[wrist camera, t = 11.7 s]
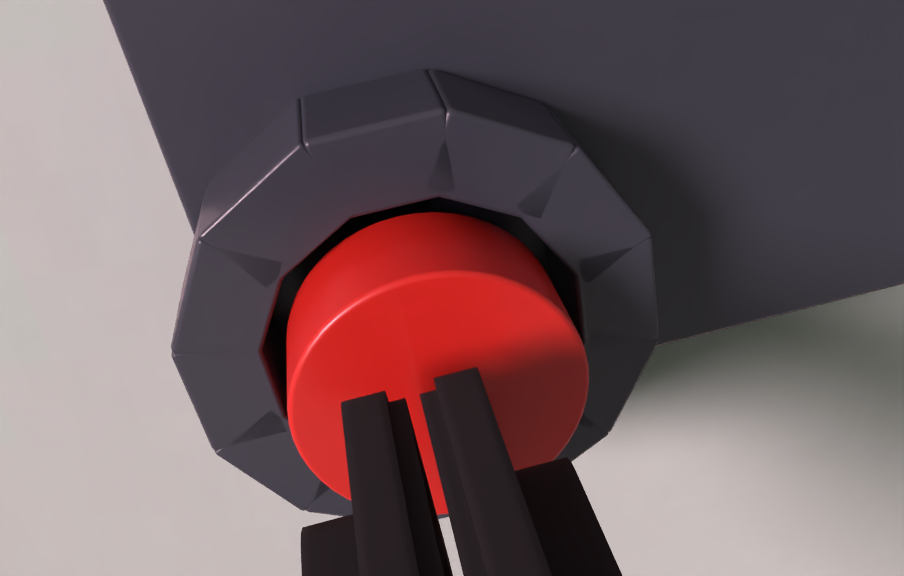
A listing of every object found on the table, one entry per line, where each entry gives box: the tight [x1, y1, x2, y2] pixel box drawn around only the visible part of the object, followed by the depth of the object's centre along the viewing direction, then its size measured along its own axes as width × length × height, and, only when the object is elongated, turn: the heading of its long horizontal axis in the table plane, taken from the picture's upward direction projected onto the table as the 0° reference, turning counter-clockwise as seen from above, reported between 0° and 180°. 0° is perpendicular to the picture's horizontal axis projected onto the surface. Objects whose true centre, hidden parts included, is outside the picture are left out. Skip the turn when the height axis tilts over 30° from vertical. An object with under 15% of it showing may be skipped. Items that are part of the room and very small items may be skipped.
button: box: [286, 212, 589, 515], centre depth 12 cm, size 4×4×2 cm
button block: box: [103, 0, 904, 519], centre depth 13 cm, size 12×10×4 cm
